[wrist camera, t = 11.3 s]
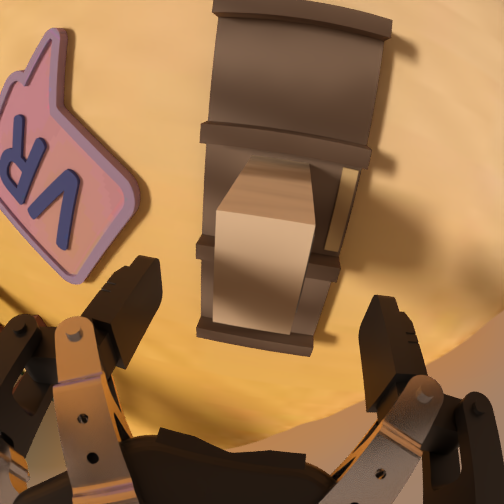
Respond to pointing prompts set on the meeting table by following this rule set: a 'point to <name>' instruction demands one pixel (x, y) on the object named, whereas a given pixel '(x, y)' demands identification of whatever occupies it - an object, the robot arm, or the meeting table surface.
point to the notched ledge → (290, 132)
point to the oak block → (263, 245)
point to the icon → (58, 169)
